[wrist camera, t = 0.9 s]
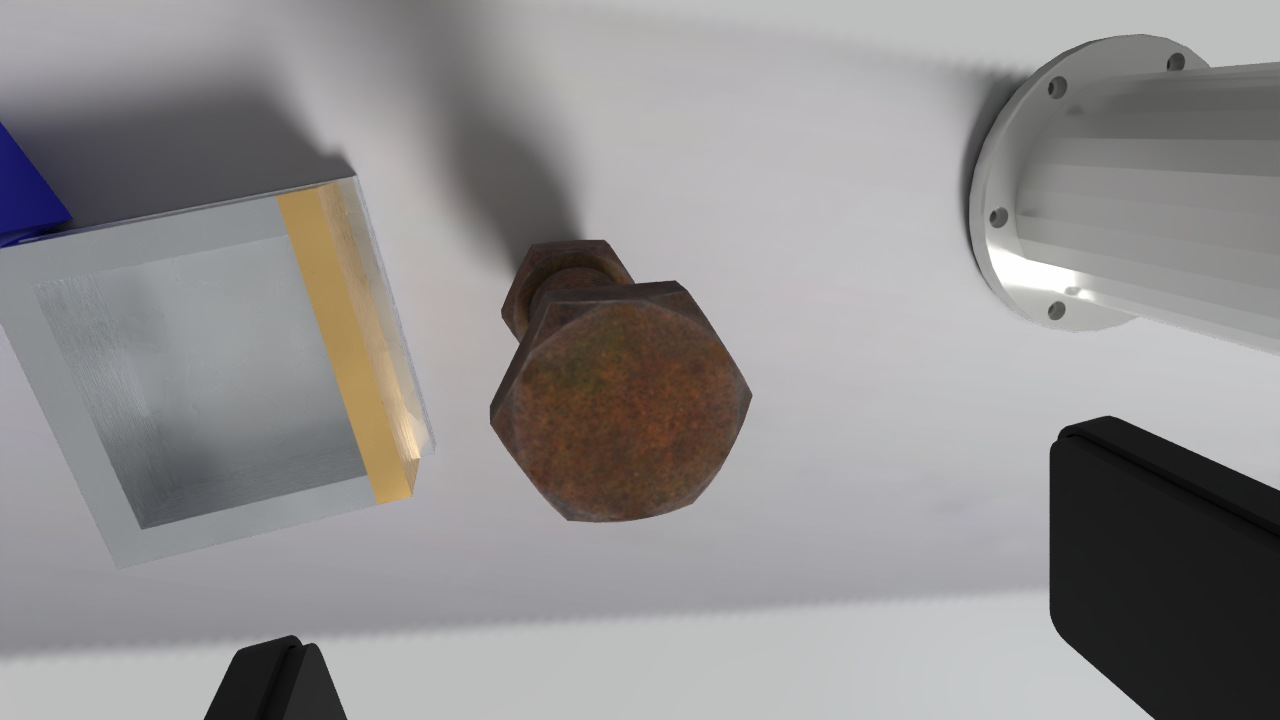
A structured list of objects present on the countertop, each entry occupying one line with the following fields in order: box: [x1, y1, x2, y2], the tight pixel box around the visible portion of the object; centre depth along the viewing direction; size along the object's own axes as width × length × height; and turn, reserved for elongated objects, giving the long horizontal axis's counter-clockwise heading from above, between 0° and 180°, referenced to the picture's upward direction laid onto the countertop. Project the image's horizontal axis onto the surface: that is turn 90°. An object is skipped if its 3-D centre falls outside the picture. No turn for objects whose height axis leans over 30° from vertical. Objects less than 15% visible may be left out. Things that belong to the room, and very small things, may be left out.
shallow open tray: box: [0, 175, 436, 569], centre depth 26 cm, size 11×11×4 cm
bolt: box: [490, 240, 752, 523], centre depth 23 cm, size 6×5×15 cm
